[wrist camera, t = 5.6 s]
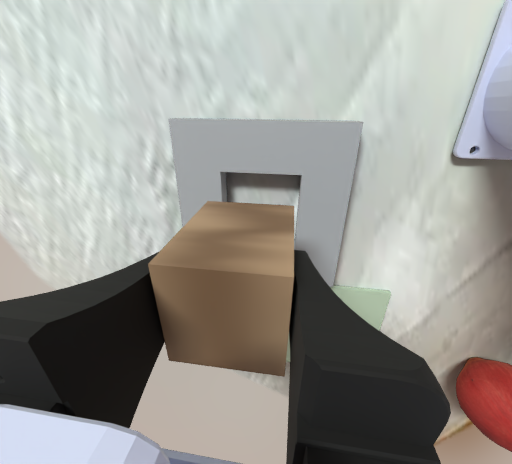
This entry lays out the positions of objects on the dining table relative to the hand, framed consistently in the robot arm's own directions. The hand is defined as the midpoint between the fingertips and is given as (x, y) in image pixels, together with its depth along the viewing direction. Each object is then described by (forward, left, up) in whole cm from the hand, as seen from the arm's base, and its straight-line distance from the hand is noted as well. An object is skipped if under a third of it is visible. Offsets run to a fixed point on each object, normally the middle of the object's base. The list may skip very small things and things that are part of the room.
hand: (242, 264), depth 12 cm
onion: (-20, +14, -9) cm, 26 cm away
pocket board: (0, 0, -8) cm, 8 cm away
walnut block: (0, 0, -2) cm, 2 cm away
